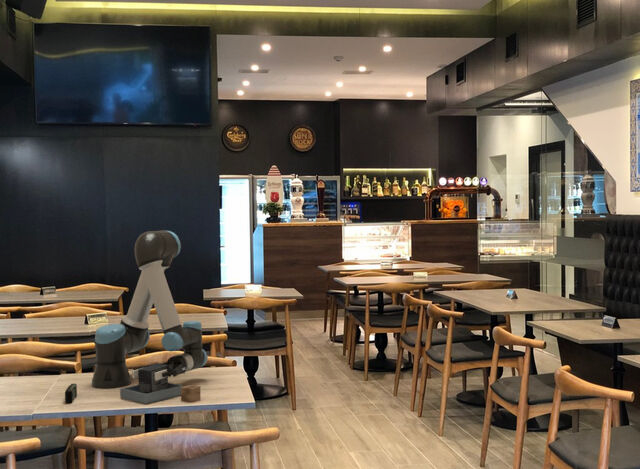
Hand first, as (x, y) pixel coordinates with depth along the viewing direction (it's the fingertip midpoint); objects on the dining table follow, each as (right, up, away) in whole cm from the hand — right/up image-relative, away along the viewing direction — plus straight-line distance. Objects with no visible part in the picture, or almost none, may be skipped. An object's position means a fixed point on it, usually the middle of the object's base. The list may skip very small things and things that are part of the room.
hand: (144, 375), depth 281 cm
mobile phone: (-28, -10, +3) cm, 30 cm away
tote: (+2, -9, +4) cm, 10 cm away
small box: (+2, -8, +5) cm, 10 cm away
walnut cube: (+18, -9, -2) cm, 20 cm away
